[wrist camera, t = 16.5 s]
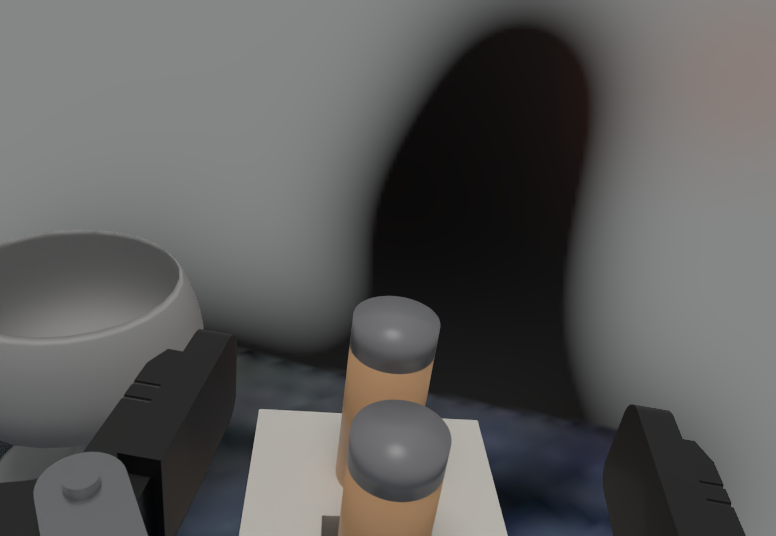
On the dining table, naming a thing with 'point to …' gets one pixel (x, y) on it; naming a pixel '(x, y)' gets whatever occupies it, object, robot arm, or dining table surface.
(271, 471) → the white board with post
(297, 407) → the dining table surface
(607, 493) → the robot arm
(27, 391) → the chalice
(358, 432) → the grey-capped tan peg
